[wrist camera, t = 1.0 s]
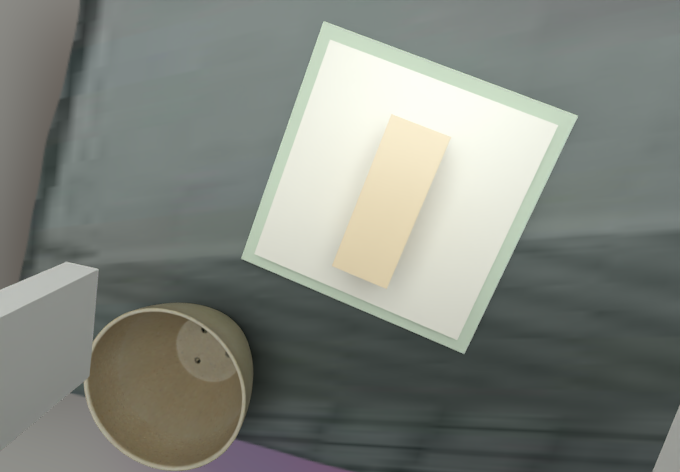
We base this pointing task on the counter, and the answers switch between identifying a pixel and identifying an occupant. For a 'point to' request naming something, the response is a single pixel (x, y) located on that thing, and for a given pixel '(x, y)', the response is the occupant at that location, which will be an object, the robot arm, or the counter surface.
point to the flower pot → (170, 384)
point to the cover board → (447, 204)
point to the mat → (449, 77)
